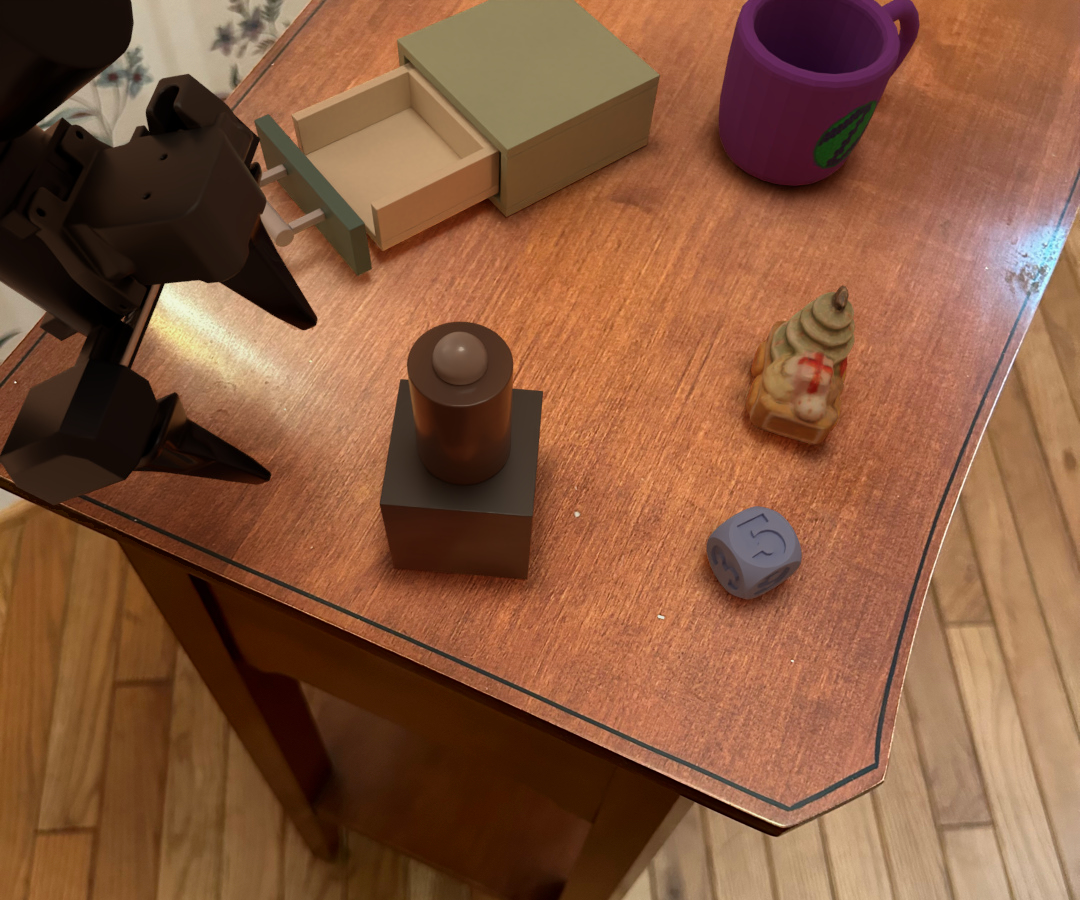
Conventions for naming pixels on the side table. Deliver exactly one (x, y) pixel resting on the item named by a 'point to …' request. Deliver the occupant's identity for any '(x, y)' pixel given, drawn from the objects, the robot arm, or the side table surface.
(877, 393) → the side table surface
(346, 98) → the drawer
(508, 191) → the cabinet
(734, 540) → the decorative dice
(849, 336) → the ornament
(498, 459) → the pepper mill
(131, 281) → the robot arm
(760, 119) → the mug
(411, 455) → the block
